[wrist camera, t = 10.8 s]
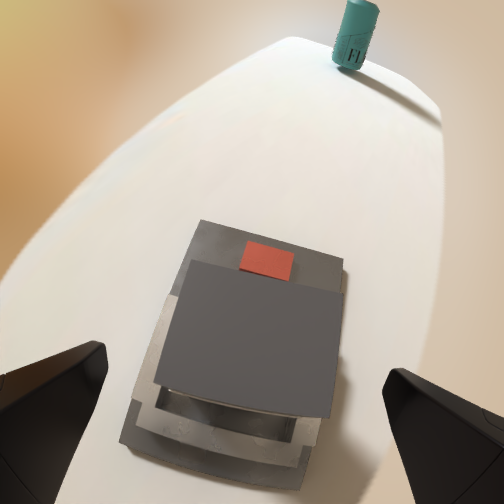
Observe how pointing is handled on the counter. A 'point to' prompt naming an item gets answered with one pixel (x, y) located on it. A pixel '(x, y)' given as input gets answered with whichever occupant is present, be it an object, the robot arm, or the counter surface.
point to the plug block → (252, 343)
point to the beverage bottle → (355, 33)
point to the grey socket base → (217, 416)
